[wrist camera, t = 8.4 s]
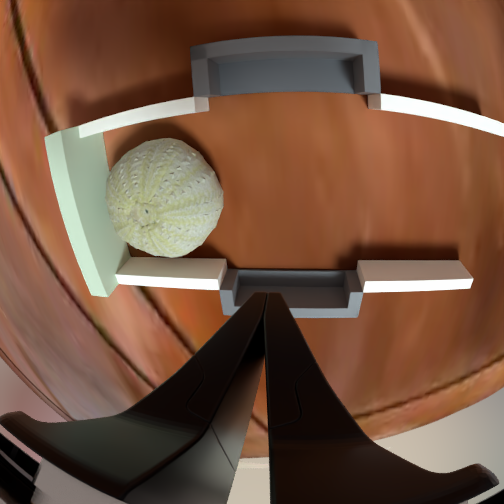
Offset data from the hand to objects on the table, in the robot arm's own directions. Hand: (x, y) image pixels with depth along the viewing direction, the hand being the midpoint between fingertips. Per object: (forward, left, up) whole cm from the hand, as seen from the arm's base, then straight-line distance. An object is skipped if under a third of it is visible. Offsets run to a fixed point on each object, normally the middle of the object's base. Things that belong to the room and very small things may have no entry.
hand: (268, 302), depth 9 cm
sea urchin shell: (+6, -6, -13) cm, 16 cm away
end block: (+11, -11, -13) cm, 20 cm away
